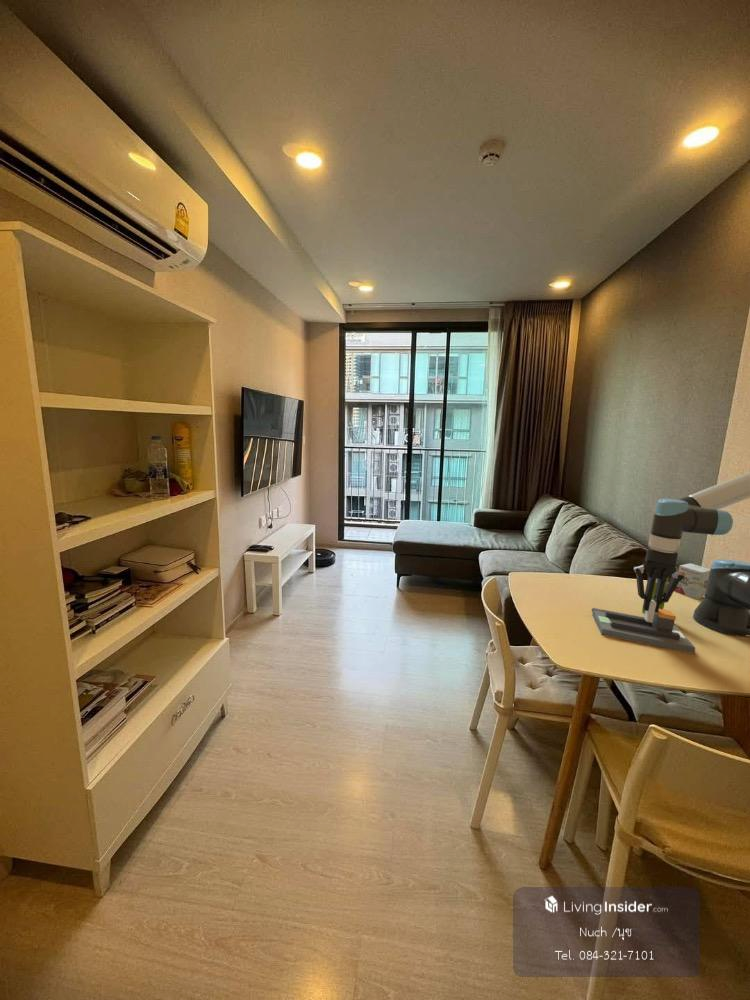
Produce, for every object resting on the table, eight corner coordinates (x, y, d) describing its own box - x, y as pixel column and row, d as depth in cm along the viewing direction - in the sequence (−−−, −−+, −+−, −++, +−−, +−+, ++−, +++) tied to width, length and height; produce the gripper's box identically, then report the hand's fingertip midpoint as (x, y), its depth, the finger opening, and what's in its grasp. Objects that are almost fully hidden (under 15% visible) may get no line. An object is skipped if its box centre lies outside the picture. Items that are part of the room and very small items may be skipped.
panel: (674, 630, 123) (676, 620, 122) (693, 653, 110) (696, 642, 109) (592, 615, 131) (593, 605, 130) (601, 634, 118) (603, 624, 117)
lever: (666, 628, 119) (670, 610, 118) (671, 635, 115) (676, 616, 114) (651, 625, 121) (654, 607, 120) (655, 631, 117) (659, 613, 116)
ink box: (672, 591, 158) (678, 564, 156) (684, 588, 161) (690, 562, 159) (697, 599, 150) (703, 571, 148) (708, 597, 154) (714, 569, 152)
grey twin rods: (665, 624, 127) (666, 620, 127) (669, 628, 124) (670, 624, 124) (590, 610, 134) (591, 606, 134) (592, 614, 132) (593, 610, 131)
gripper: (683, 549, 116) (667, 619, 120) (634, 542, 120) (621, 610, 125) (694, 556, 109) (677, 630, 113) (641, 549, 113) (627, 621, 118)
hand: (648, 620), depth 119 cm, fingers closed
